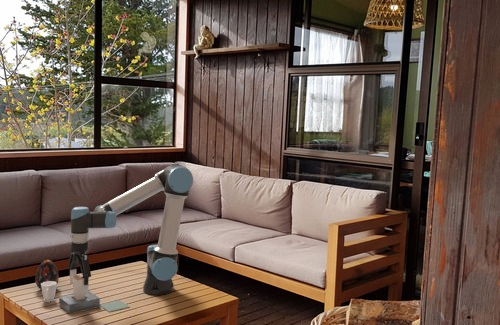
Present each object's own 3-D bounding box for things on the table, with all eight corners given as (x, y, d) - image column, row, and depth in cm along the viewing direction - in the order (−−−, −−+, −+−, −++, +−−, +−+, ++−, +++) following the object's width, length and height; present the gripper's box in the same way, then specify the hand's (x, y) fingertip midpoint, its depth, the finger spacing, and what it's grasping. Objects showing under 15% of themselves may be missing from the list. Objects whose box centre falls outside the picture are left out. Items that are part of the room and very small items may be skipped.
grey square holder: (88, 299, 244) (88, 290, 243) (99, 306, 235) (99, 298, 234) (59, 305, 235) (59, 296, 234) (69, 313, 226) (69, 304, 225)
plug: (81, 303, 237) (82, 274, 236) (85, 306, 234) (85, 276, 233) (73, 305, 235) (73, 275, 234) (76, 308, 232) (77, 278, 231)
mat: (119, 300, 243) (119, 300, 243) (129, 307, 235) (129, 306, 235) (99, 305, 236) (99, 304, 236) (109, 312, 229) (109, 311, 229)
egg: (48, 284, 262) (48, 255, 260) (63, 288, 257) (63, 259, 255) (30, 290, 252) (30, 260, 251) (45, 294, 247) (45, 264, 246)
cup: (57, 297, 245) (57, 280, 244) (55, 304, 235) (55, 287, 235) (42, 298, 243) (42, 281, 243) (38, 305, 234) (38, 288, 233)
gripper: (60, 236, 239) (60, 281, 241) (82, 248, 220) (82, 297, 222) (76, 235, 244) (76, 278, 246) (99, 246, 225) (98, 293, 227)
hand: (78, 287), depth 234 cm, fingers open, 13 cm apart
